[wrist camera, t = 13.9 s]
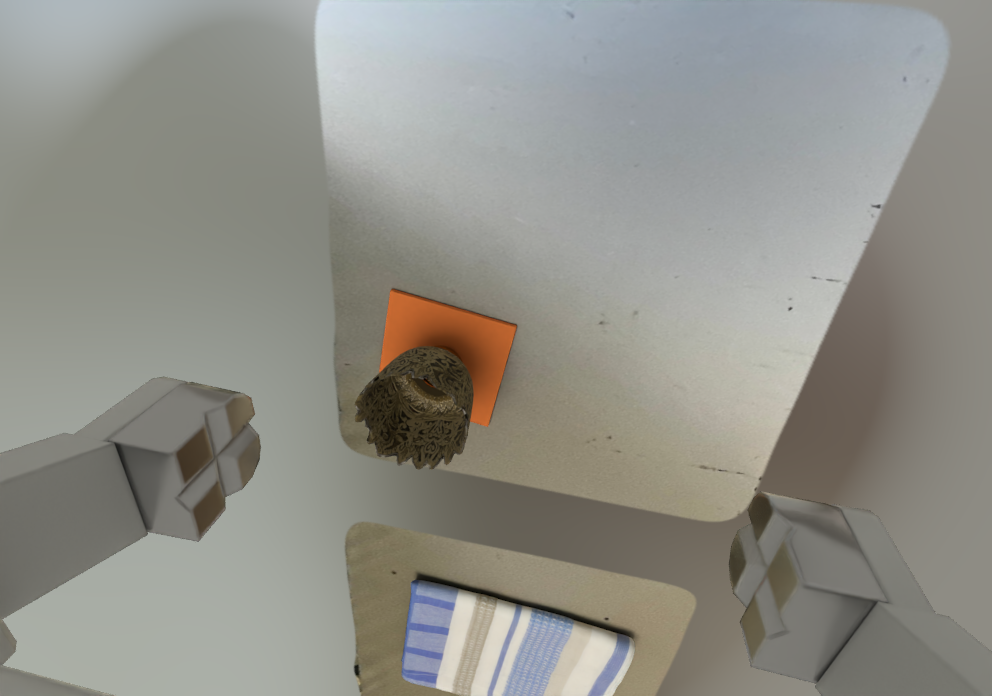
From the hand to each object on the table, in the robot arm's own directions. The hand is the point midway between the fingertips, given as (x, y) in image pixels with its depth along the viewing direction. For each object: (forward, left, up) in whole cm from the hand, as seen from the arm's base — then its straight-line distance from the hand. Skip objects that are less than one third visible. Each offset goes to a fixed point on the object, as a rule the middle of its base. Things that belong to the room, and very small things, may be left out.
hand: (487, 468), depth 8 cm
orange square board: (+8, -15, -27) cm, 32 cm away
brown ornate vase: (+8, -15, -27) cm, 32 cm away
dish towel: (+42, -29, -27) cm, 58 cm away
